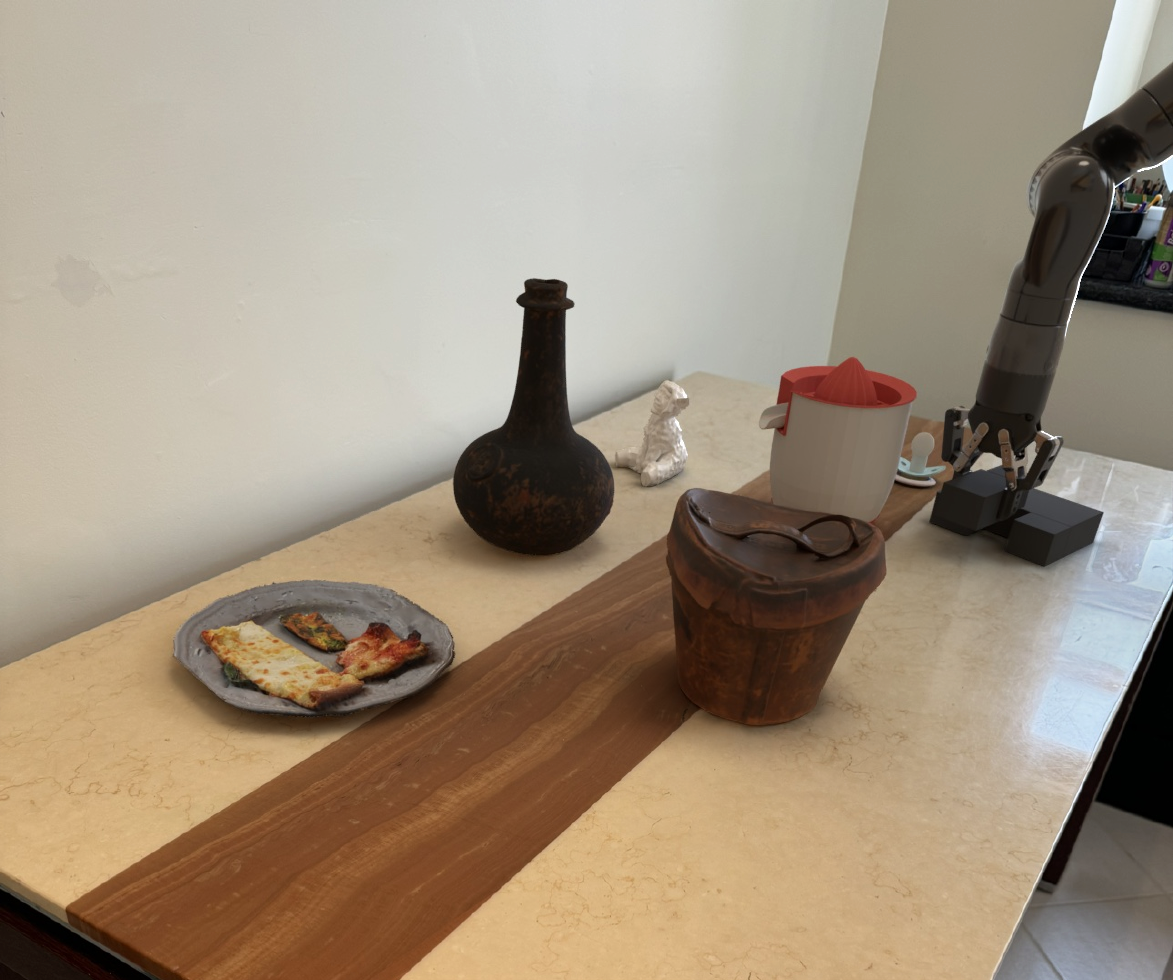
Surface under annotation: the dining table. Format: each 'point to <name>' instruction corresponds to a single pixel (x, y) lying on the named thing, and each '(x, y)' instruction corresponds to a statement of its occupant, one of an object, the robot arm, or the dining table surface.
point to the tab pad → (974, 498)
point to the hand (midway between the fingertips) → (979, 509)
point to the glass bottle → (536, 449)
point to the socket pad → (1040, 527)
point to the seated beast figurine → (659, 439)
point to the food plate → (314, 648)
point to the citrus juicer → (837, 438)
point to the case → (764, 601)
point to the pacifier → (918, 463)
